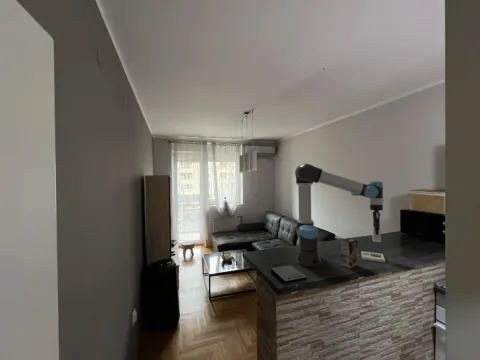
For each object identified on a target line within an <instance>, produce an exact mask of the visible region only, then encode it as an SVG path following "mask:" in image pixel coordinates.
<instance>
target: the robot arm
mask: <svg viewBox="0 0 480 360" xmlns="http://www.w3.org/2000/svg"><path fill="white" fill-rule="evenodd" d="M294 174H295V175H294V176H295V184H296V185H297V186H298V187H297V188H298V191H297V192H298V219H297V220H296V227H295V228H296V229H295V233H296V236H297V237H298V241H299V245H298V247H299V248H298V253H297V255H296V263H297V264H298V265H300V266H302V267H307V268H316V267H319V266H321V265H322V264H321V263H322V260H321V257H320V252H319V230H318V228H317V227H316V226H315V223H314V220H313V219H312V185H313V184H319V183H320V184H324V185H327V186H330V187H332V188H333V187H334V188H335V189H339V190H343V191H345V192H349V193H350V194H351V195H352V196H356V197H357V196H360V197H364V198H368V199H369V210H371V211H372V220H373V223H372V224H373V225H372V226H373V227H372V228H375V229H374V239H378V240H379V230H381V228H380V227H381V226H380V223H381V221H380V218H381V213H380V211H383V210H384V206H383V205H384V204H383V203H384V201H385V200H384V195H383V194H384V193H383V192H384V191H383V190H384V187H383V186H384V185H383V182H382V181H377V180H376V181H374V180H373V181H369V183H368V184H366V183H362V182H360V181H356V180H353V179H350V178H346V177H344V176H340V175H336V174H333V173H332V172H327V171H324V170H323V168H320V167H317V166H314V165H313V164H309V163H303V164H300V165H298V166H297V167H296V169H295V172H294Z"/></svg>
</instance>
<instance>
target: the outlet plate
mask: <svg viewBox="0 0 480 360" xmlns="http://www.w3.org/2000/svg"><path fill="white" fill-rule="evenodd" d="M360 253H361V255H360V256H361V259H362V260H365V261H372V262H378V263H386V259H385V257H384V254H383V253H378V252H371V251H360Z"/></svg>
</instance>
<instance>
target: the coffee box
mask: <svg viewBox="0 0 480 360" xmlns="http://www.w3.org/2000/svg"><path fill="white" fill-rule="evenodd" d="M358 241H359V240H358V239H356V238H349V237H348V238H344V239H342V240H341V241H340V266H342V267H345V268H348V269H353V268H355V267H356V266H358V261H359V259H358V258H359V257H358V254H359V253H358V249H359V248H358V246H359V245H358Z"/></svg>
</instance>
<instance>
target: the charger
mask: <svg viewBox="0 0 480 360" xmlns="http://www.w3.org/2000/svg"><path fill="white" fill-rule="evenodd" d="M374 229H375V228H374V227H372V242H375V243H376V242H377V243H381V242H382V238H381V237H382V230H381V229H380V230H379V240H378V239H374Z"/></svg>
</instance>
